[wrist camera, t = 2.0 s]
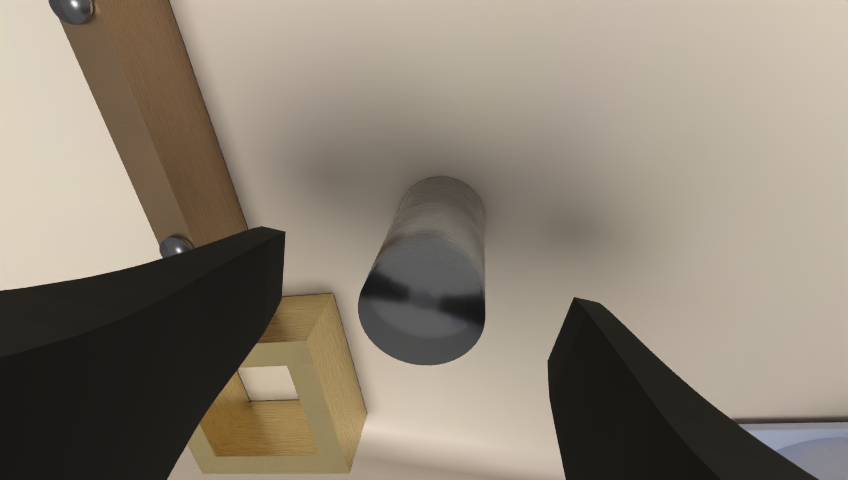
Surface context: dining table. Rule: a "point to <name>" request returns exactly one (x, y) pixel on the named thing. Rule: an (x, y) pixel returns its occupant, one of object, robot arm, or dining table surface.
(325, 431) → the hinge
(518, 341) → the dining table surface
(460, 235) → the hinge pin
